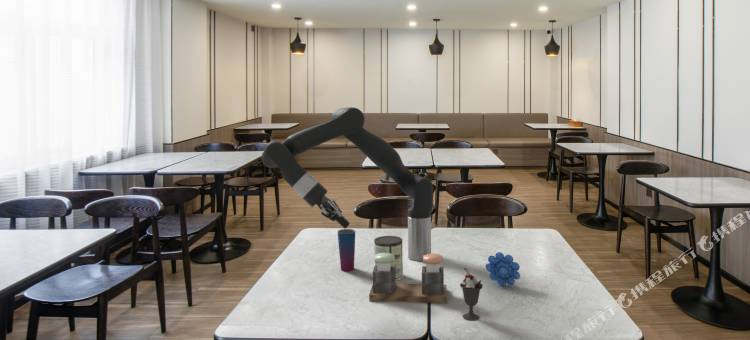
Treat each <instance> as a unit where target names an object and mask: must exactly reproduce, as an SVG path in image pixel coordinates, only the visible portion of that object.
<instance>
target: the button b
mask: <svg viewBox="0 0 750 340" xmlns="http://www.w3.org/2000/svg"><path fill="white" fill-rule="evenodd" d="M443 257H444V256H443V255H441V254H437V253H431V254H426V255H424V256H423V261H422V262H423V263H424V264H425V266H426V272H429V273H439V267H440V264H442V263H443V261H444V259H443Z"/></svg>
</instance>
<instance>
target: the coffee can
mask: <svg viewBox="0 0 750 340" xmlns="http://www.w3.org/2000/svg"><path fill="white" fill-rule="evenodd" d="M373 242H374V256H375V255H376V254H378V253H390V254H393V255H394V261H393V262H391V266H396V282H397V281H399V280H401V279H403V277H404V274H403V270H404V268H403V267H404V266H403V238H402V237H400V236H397V235H381V236H378V237H375V238H374V240H373ZM375 265H377V262H375V261H374V266H375Z"/></svg>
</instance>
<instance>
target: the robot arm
mask: <svg viewBox="0 0 750 340" xmlns="http://www.w3.org/2000/svg"><path fill="white" fill-rule="evenodd" d="M364 126H365V115H364V113H363V111H361V110H360V109H359V108H357V107H352V106H351V107H342V108H339V109H337V110H335V111H334V112H333V113H332V114H331V120H329V121H326V122H324V123H320V124H317V125H314V126H312V127H311V126H310V127H308V128H305V129H303V130H300V131H298V132H296V133H293V134H291V135H289V136H288V137H287V138H286V139H284V140H283V141H282V142H280V141H278V140H273V141H270V142H269V143H267V144H266V146H265V147H264V150H263V152H262V153H261V162H262V165H264V166H265V167H267V168H269V169H275V168H278V169H279V170H280V171H281V177H282V178H283V180H284V181H285V182H286V183H287V184H288V185H289V186H290V187H291V188H292V189H293V190H294V191H295V192H296V194H298V196H299V197H301V198H302V199H303V201H305V202H306V203H307V204H308V205H309V206H310V207H311V208H314V207H315V206H316V205H317V207H318V208H319V211H321V215H322V216H323V217H325V218H327V219H329V220H330V221H332V222H337V223H338V224H339V225H340V226H341V227H342V229H348V227H349V226H350V222H349V220H348V219H347V218H346V217H344V216H343V214H342V213H343V211H342V210H341V208H340V207H339V205H338V204H337V202H336V201H335V200H334V199H331V198H329V197H327V196H326V195H327V194H328V189H327V188H326V187H324V186H323V185H322V184H321V183H320V181H318V180H317V179H316V178H315V177H314V176H312V174H310V173H309V172H308V171H307V170H306V169H305V168H304V167H303V166H302V165H300V164H299V162H298V161H297V158H296V157H297V156H298V155H299V156H300V155H301V154H303V153H306V152H307V151H310V150H312V149H314V148H316V147H318V146H320V145H322V144H324V143H326V142H330V141H332V140H334V139H337V138H338V137H344V138H346V139H347V140H348V141H349V142H351V143H352V144H353V145H355V147H357V148H358V149H359V150H360V152H362V153H363V154H364V155H365V156H366V157H367V158H368V159H369V160H370V161H371V162H372V163H373V164H374V165H375V166H376V167H378V168H379V169H380V170H381V171H382V172H383V173H385V175H386V176H388V177H389V178H390V179H392V180H393V181H394V182H395V184H396V185H398V187H399V189H400V190H401V191H403V193H404V194H405V195H406V196H407V197H409V198H411V199H413V205H412V207H409V208H408V210H407V256H408V257H407V258H408V259H410V260H412V261H419V262H420V261H422V262H423V256H424V255H426V254H432V250H431V249H432V212H433V211H432V210H433V208H434V185H433V182H432V181H431V180H430V179H429V178H427V177H425V176H420V175H417V174H415V173H413V172H412V171H410V169H408V168H407V167H406V166H405V165H404V163H403V161H402V157H401V156H400V153H398V151H397V150H396V149H395V148H394V147H393V146H392V145H391V144H389V142H388V141H386V140H384V139H382V138H381V137H379V136H378V135H375V134H374V133H372V132H370V131H368V130H366V129H365V128H364Z"/></svg>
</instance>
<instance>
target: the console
mask: <svg viewBox="0 0 750 340" xmlns="http://www.w3.org/2000/svg"><path fill="white" fill-rule="evenodd" d="M444 270H445V269H444V266H439V273H429V272H426V265H425V266H424V265H423V266H422V268H421V283H401V282H397V281H396V266H391V272H385V271H377V265H375V264H374V267H373V270H372V286H371V289H370V292H369V295H368V300H369V302H392V303H393V302H397V303H399V302H400V303H425V304H427V303H428V304H429V303H431V304H433V303H434V304H447V303H448V294H447V293H448V291H447V284H444V283H445V281H444V280H445V278H444V277H445V275H444V274H445V272H444Z"/></svg>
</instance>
